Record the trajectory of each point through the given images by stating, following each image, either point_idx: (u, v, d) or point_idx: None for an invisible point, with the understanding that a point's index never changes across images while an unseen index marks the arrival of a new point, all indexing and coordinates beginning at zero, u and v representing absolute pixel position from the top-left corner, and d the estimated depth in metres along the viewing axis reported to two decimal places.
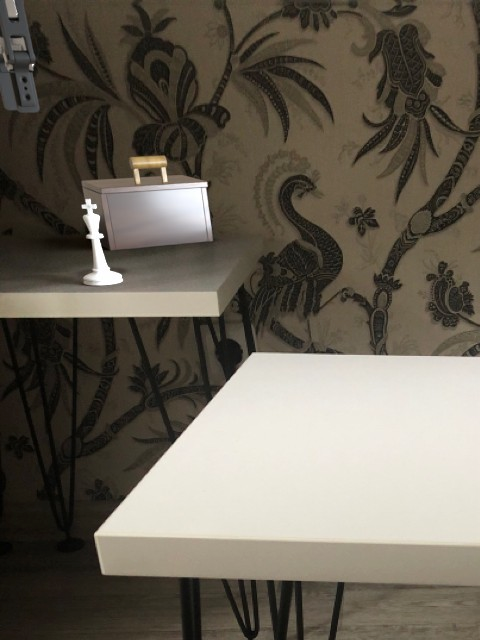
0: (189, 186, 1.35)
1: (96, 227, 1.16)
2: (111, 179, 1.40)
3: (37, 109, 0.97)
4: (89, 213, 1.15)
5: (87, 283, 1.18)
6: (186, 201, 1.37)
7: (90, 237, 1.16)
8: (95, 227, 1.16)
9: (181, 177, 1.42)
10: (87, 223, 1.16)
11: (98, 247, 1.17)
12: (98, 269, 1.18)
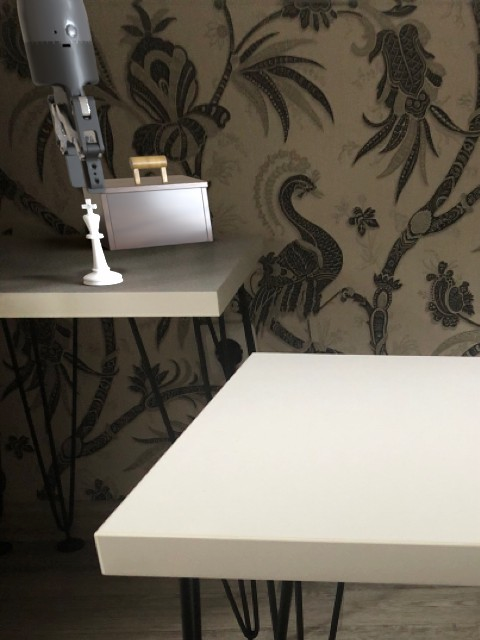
0: (189, 186, 1.35)
1: (96, 227, 1.16)
2: (111, 179, 1.40)
3: (104, 190, 1.12)
4: (89, 213, 1.15)
5: (87, 283, 1.18)
6: (186, 201, 1.37)
7: (90, 237, 1.16)
8: (95, 227, 1.16)
9: (181, 177, 1.42)
10: (87, 223, 1.16)
11: (98, 247, 1.17)
12: (98, 269, 1.18)
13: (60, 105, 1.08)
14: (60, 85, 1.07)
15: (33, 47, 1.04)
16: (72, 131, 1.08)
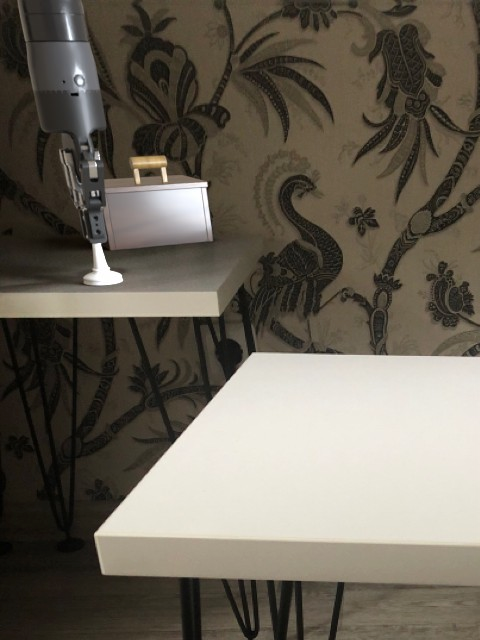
0: (189, 186, 1.35)
1: None
2: (111, 179, 1.40)
3: (105, 240, 1.16)
4: None
5: (87, 283, 1.18)
6: (186, 201, 1.37)
7: None
8: None
9: (181, 177, 1.42)
10: None
11: (99, 247, 1.17)
12: (98, 269, 1.18)
13: (67, 151, 1.10)
14: (68, 132, 1.09)
15: (41, 96, 1.06)
16: (77, 184, 1.12)
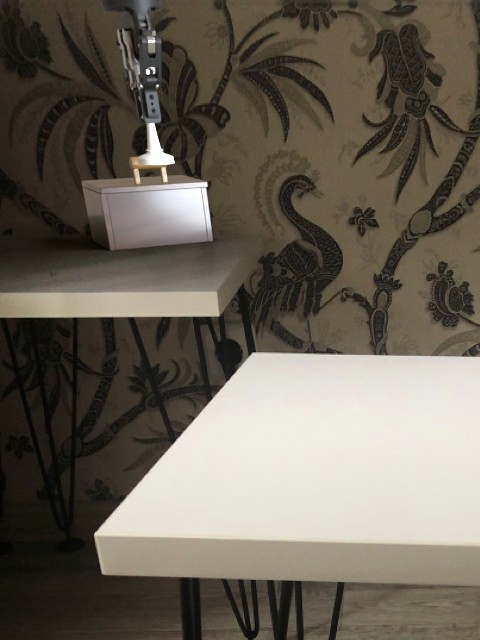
0: (189, 186, 1.35)
1: None
2: (111, 179, 1.40)
3: (159, 120, 1.22)
4: None
5: (141, 163, 1.24)
6: (186, 201, 1.37)
7: None
8: None
9: (181, 177, 1.42)
10: None
11: (153, 128, 1.23)
12: (152, 149, 1.24)
13: (126, 29, 1.15)
14: (127, 9, 1.14)
15: None
16: (135, 62, 1.17)
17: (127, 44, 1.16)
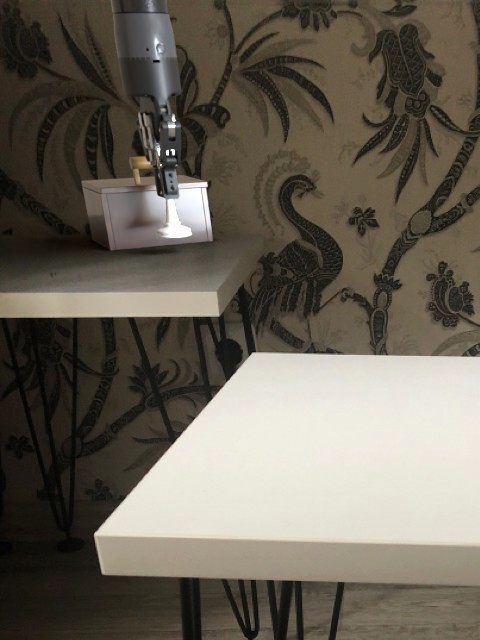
0: (189, 186, 1.35)
1: None
2: (111, 179, 1.40)
3: (178, 196, 1.28)
4: None
5: (160, 235, 1.30)
6: (186, 201, 1.37)
7: None
8: None
9: (181, 177, 1.42)
10: None
11: (171, 203, 1.29)
12: (170, 223, 1.30)
13: (147, 113, 1.22)
14: (148, 96, 1.20)
15: (126, 62, 1.18)
16: (155, 144, 1.23)
17: (148, 127, 1.22)
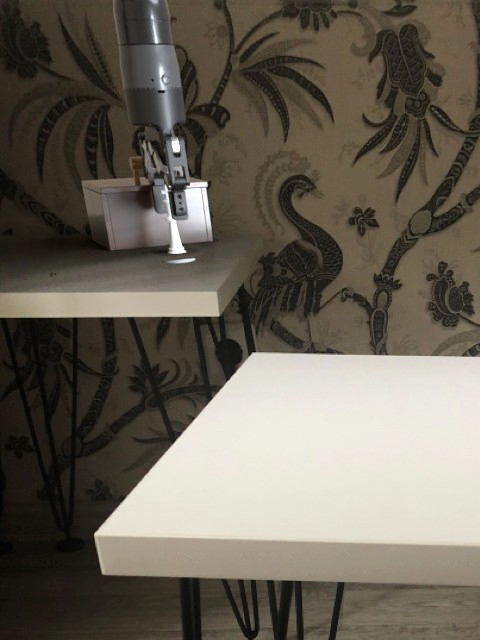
0: (189, 186, 1.35)
1: None
2: (111, 179, 1.40)
3: (187, 217, 1.27)
4: (168, 198, 1.29)
5: (164, 261, 1.31)
6: (186, 201, 1.37)
7: (168, 219, 1.30)
8: None
9: None
10: (166, 207, 1.29)
11: (175, 229, 1.31)
12: (174, 248, 1.32)
13: (152, 142, 1.23)
14: (153, 125, 1.22)
15: (132, 92, 1.19)
16: (162, 166, 1.23)
17: (153, 156, 1.24)
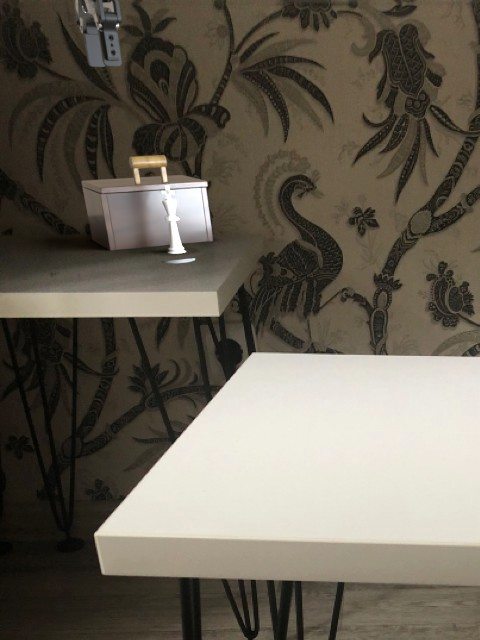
0: (189, 186, 1.35)
1: (173, 210, 1.30)
2: (111, 179, 1.40)
3: (120, 63, 1.15)
4: (168, 198, 1.29)
5: (164, 261, 1.31)
6: (186, 201, 1.37)
7: (168, 219, 1.30)
8: (173, 210, 1.29)
9: (181, 177, 1.42)
10: (166, 207, 1.29)
11: (175, 229, 1.31)
12: (174, 248, 1.32)
13: None
14: None
15: None
16: (91, 2, 1.12)
17: None
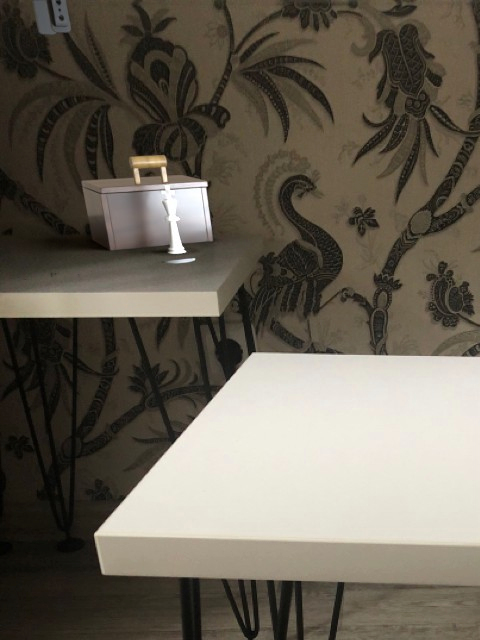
0: (189, 186, 1.35)
1: (173, 210, 1.30)
2: (111, 179, 1.40)
3: (69, 29, 1.12)
4: (168, 198, 1.29)
5: (164, 261, 1.31)
6: (186, 201, 1.37)
7: (168, 219, 1.30)
8: (173, 210, 1.29)
9: (181, 177, 1.42)
10: (166, 207, 1.29)
11: (175, 229, 1.31)
12: (174, 248, 1.32)
13: None
14: None
15: None
16: None
17: None
